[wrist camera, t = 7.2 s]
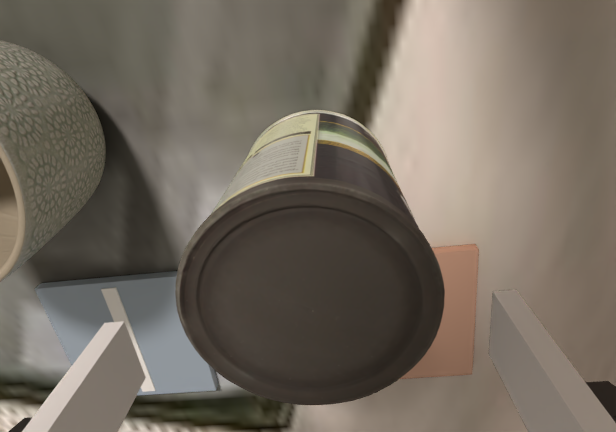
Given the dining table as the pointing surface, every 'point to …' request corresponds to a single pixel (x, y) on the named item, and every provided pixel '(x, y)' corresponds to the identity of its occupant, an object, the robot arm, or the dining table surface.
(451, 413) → the dining table surface
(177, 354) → the pad
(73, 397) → the robot arm
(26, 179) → the planter
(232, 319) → the coffee can
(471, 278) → the pad
